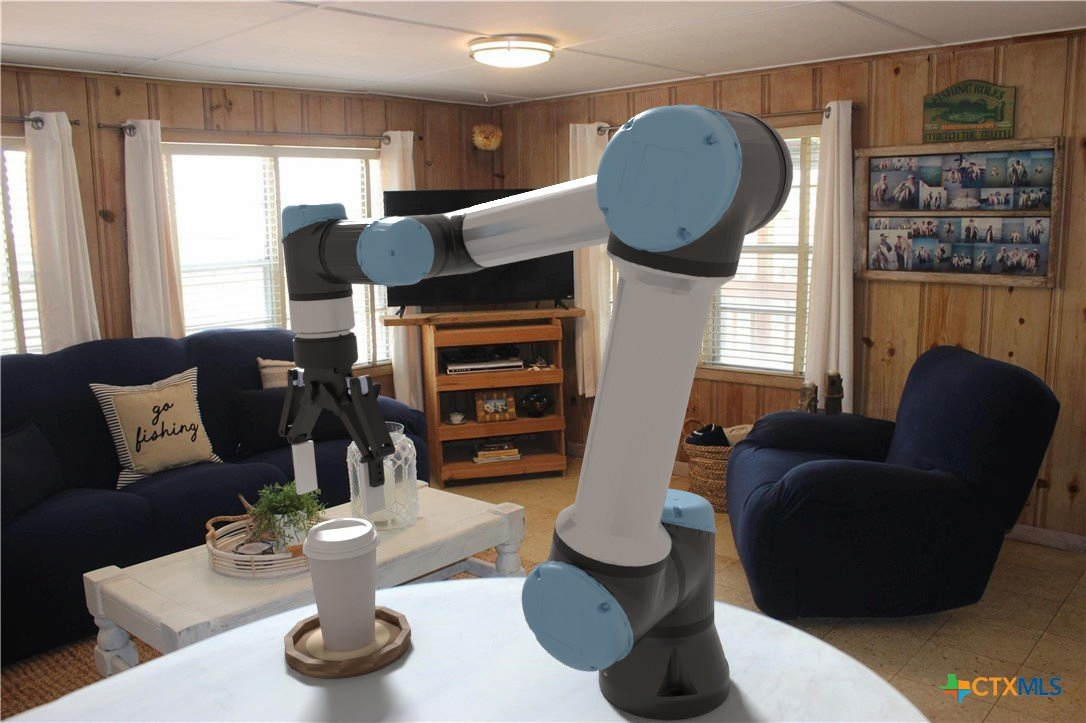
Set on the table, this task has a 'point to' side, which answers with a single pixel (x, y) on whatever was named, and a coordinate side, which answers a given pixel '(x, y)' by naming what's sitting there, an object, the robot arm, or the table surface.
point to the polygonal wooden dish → (321, 662)
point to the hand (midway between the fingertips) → (339, 501)
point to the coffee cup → (344, 581)
